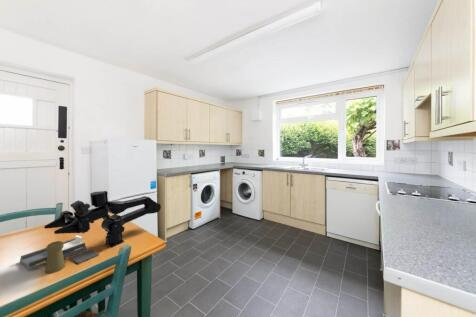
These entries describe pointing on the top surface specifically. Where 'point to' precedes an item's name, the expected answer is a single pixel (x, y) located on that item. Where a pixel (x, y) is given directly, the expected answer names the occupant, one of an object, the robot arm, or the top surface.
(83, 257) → the rubber pad
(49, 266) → the cork
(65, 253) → the grey slide rail tray
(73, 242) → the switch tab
